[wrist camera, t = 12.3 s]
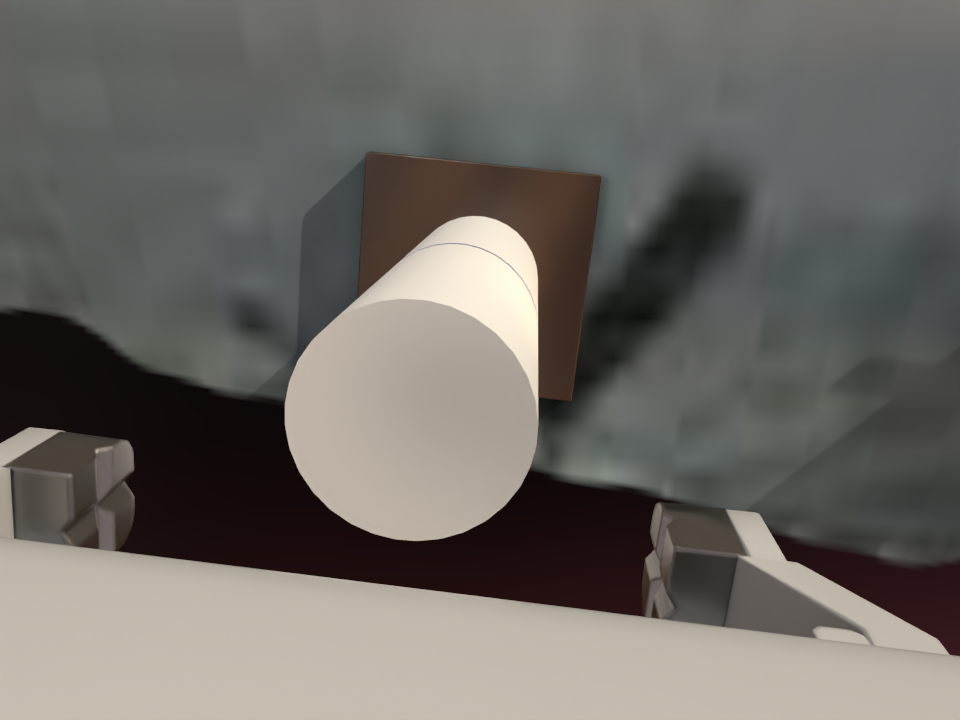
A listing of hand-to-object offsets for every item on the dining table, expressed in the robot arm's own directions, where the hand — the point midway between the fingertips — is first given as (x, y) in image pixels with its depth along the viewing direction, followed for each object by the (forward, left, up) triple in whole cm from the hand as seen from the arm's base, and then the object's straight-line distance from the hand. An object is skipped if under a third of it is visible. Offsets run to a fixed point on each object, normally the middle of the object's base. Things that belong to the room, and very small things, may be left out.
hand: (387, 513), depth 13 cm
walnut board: (+1, +2, -37) cm, 37 cm away
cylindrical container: (+1, +2, -35) cm, 36 cm away
